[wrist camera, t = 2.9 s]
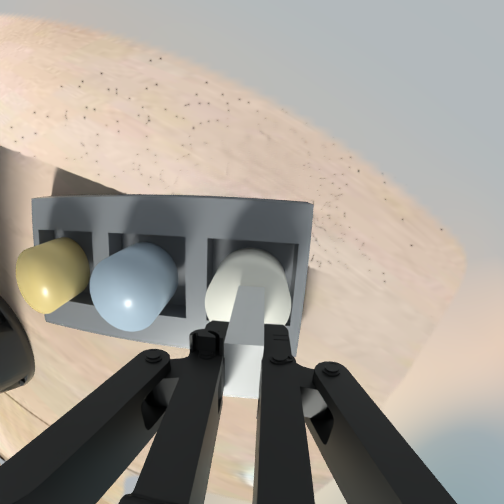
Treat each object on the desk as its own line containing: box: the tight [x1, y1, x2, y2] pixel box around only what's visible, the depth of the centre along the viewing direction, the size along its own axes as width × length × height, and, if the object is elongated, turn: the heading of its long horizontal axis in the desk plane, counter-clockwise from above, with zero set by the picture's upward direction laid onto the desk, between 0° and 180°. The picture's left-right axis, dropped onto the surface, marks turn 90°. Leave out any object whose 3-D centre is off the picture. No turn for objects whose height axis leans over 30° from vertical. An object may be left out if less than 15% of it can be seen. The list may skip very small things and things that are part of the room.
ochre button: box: [16, 237, 90, 314], centre depth 20 cm, size 5×5×4 cm
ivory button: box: [205, 248, 291, 326], centre depth 20 cm, size 5×5×4 cm
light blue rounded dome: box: [90, 242, 178, 332], centre depth 19 cm, size 5×5×4 cm
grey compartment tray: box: [32, 194, 314, 357], centre depth 23 cm, size 24×12×3 cm, turn 87°
